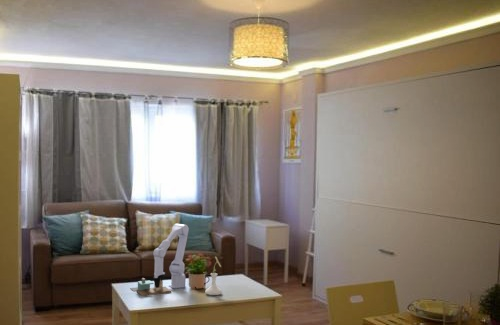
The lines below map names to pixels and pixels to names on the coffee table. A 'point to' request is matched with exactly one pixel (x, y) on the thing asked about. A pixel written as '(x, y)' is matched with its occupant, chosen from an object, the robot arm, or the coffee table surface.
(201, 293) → the coffee table surface
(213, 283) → the flower in vase
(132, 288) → the mat
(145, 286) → the cover
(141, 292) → the board
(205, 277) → the coffee mug
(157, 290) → the block
